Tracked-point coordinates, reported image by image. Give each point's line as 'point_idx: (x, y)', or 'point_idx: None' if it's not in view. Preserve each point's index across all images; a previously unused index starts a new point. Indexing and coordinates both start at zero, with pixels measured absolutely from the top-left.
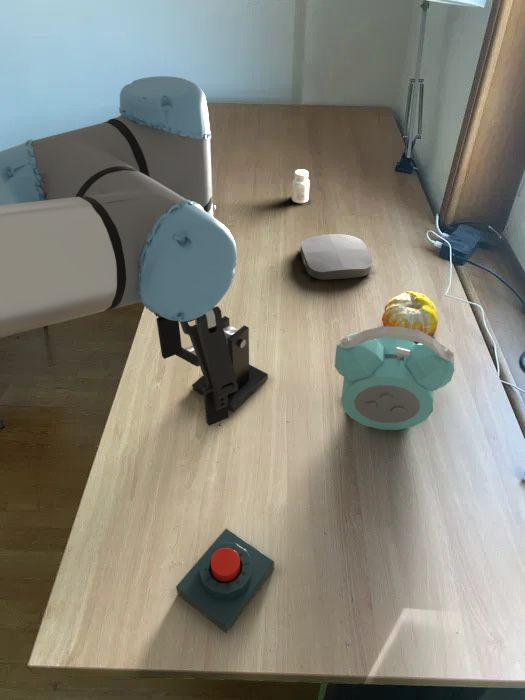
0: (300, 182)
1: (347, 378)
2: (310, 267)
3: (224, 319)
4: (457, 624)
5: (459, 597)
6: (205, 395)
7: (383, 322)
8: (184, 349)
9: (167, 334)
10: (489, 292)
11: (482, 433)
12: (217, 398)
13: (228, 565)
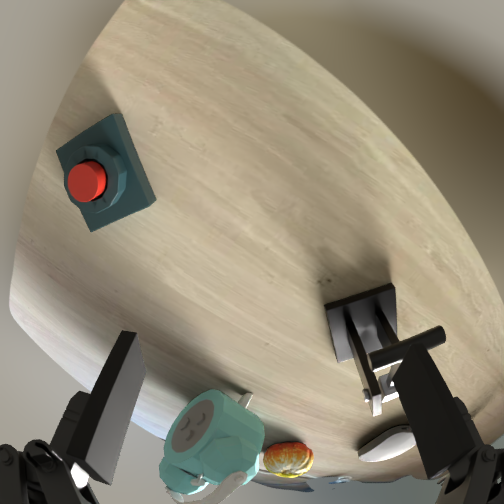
0: None
1: (219, 439)
2: (401, 432)
3: None
4: (32, 312)
5: (46, 327)
6: (84, 424)
7: (302, 447)
8: None
9: (432, 417)
10: (274, 479)
11: (161, 424)
12: (56, 431)
13: (76, 184)
